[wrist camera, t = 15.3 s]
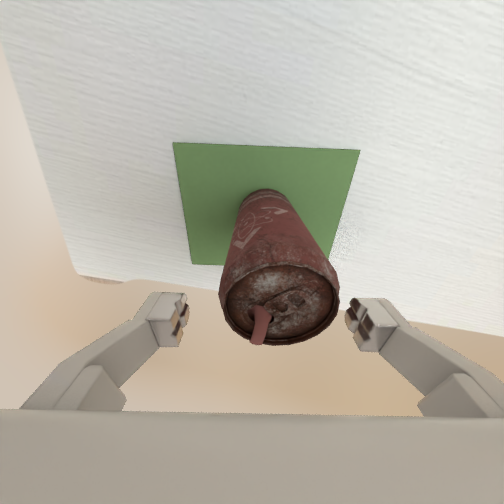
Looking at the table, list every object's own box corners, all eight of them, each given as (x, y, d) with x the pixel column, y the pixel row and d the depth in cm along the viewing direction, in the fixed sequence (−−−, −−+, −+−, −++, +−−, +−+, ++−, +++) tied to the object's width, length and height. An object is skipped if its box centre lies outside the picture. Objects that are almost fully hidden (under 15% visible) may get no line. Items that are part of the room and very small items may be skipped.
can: (233, 235, 22) (207, 344, 10) (244, 181, 19) (226, 243, 6) (281, 245, 22) (312, 361, 10) (299, 195, 19) (377, 276, 7)
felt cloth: (193, 262, 24) (192, 264, 24) (173, 142, 17) (172, 142, 17) (324, 267, 24) (325, 269, 24) (358, 150, 17) (360, 149, 17)
